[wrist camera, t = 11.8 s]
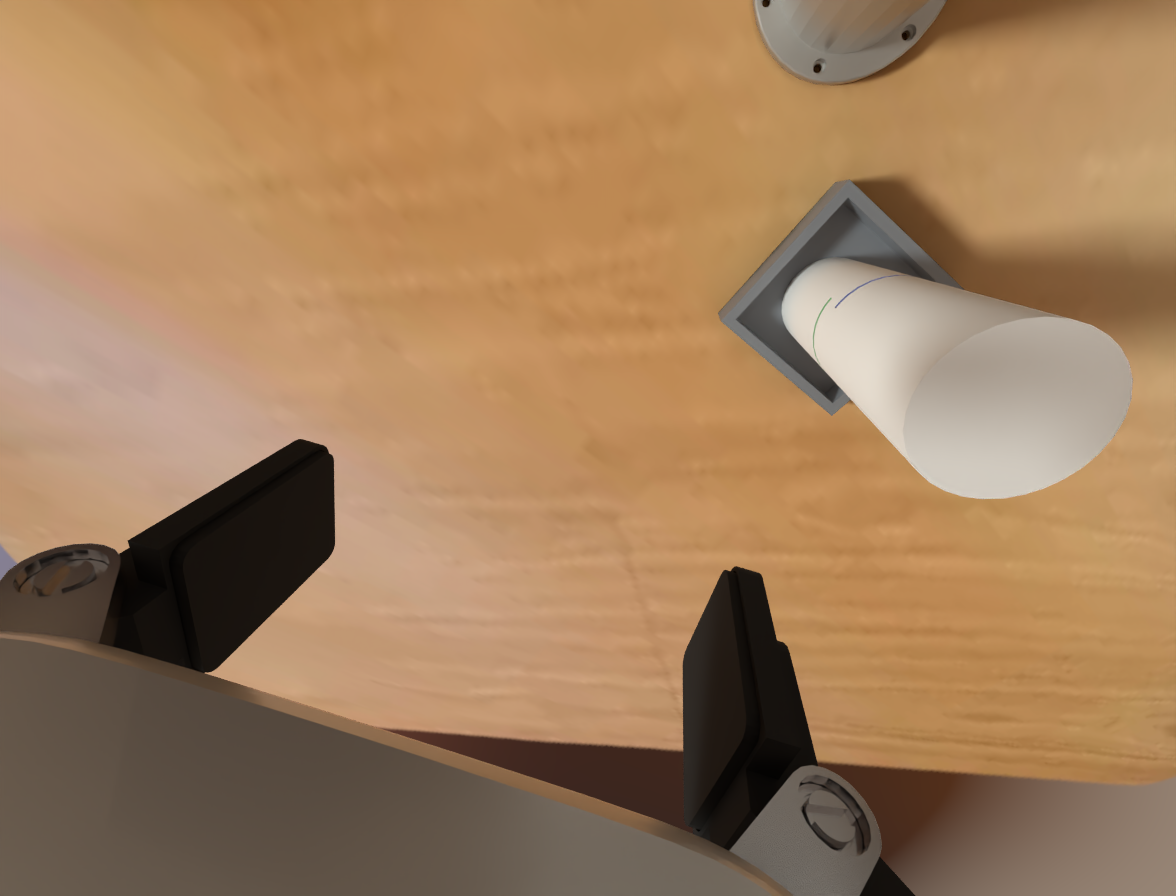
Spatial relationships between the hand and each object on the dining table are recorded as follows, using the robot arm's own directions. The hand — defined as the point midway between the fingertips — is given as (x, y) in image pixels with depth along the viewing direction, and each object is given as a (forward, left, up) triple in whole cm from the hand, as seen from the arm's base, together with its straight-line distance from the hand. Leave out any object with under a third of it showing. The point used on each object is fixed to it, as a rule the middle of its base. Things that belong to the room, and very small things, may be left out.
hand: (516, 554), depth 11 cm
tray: (-4, +16, -36) cm, 40 cm away
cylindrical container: (-4, +15, -36) cm, 39 cm away
